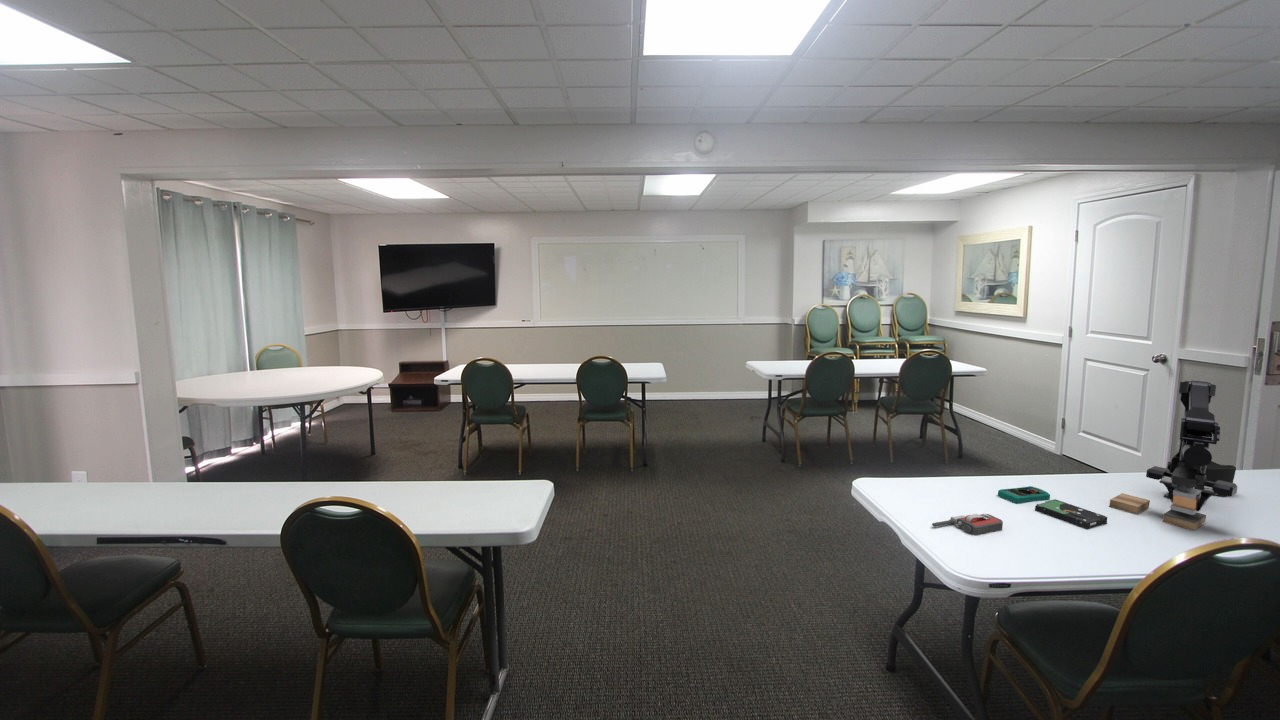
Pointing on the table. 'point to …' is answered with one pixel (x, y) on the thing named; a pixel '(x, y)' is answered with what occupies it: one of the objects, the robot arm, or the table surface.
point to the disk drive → (1071, 514)
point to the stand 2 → (1184, 519)
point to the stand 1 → (1129, 503)
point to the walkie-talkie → (975, 523)
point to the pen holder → (1218, 474)
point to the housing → (1186, 500)
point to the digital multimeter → (1024, 494)
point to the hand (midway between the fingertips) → (1185, 507)
